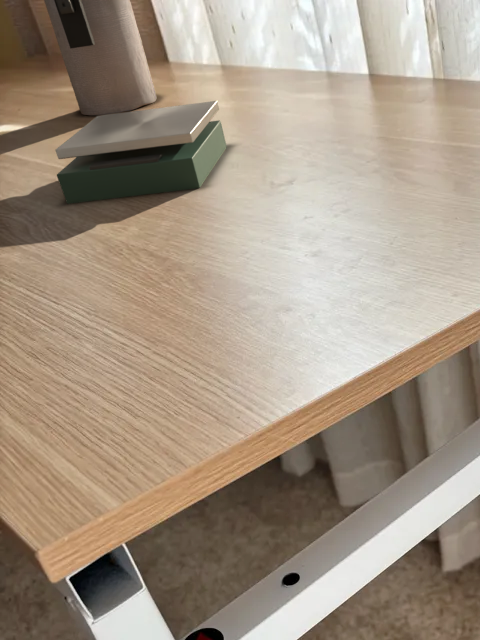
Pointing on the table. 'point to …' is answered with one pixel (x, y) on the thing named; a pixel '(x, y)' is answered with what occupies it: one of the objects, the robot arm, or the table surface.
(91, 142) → the pan
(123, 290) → the table surface
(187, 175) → the scale
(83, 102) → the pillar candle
